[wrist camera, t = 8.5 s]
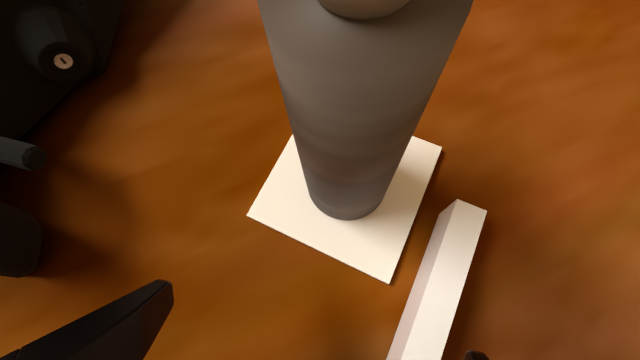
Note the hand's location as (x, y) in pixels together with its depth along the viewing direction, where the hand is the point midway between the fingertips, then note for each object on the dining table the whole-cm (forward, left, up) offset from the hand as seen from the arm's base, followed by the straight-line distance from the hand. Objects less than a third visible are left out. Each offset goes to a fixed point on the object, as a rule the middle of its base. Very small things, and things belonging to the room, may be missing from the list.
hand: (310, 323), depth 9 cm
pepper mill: (+7, +2, -8) cm, 11 cm away
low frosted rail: (0, -5, -8) cm, 9 cm away
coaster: (+7, +2, -8) cm, 11 cm away
